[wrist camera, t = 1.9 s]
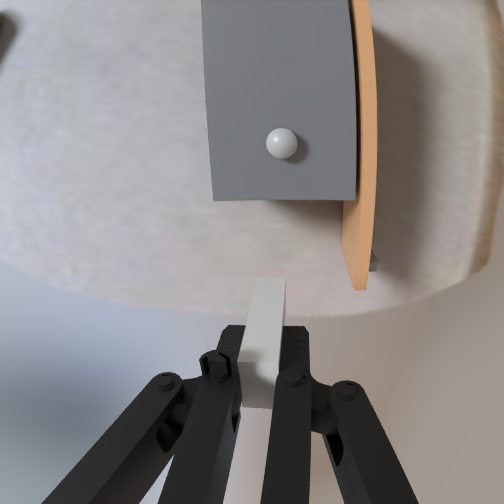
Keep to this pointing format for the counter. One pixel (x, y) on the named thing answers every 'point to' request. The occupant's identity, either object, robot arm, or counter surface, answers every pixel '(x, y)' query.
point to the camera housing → (280, 99)
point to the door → (362, 152)
